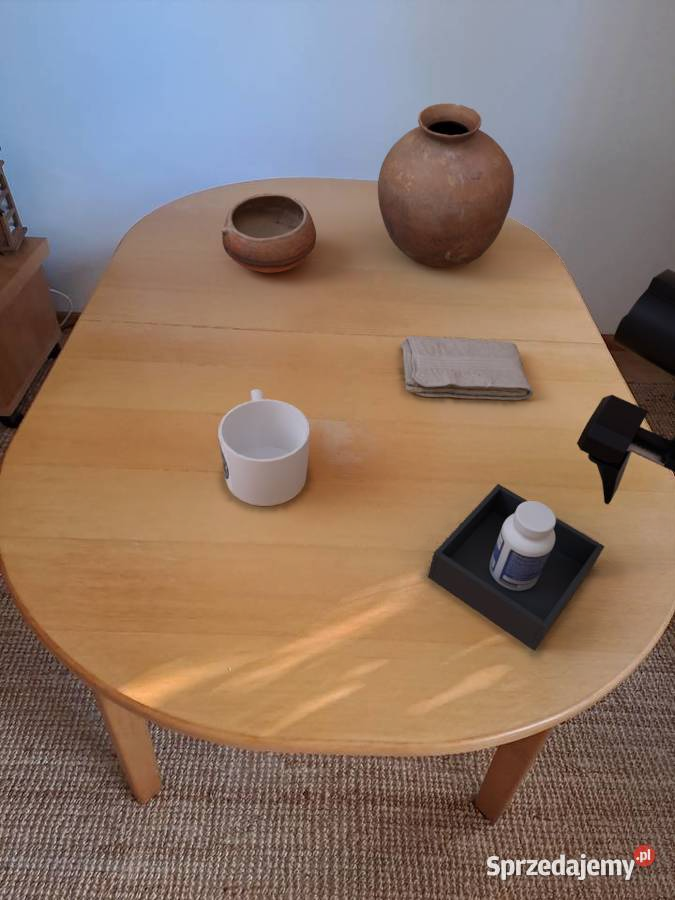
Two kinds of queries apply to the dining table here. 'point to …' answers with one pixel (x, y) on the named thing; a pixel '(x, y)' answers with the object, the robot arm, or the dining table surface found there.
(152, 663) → the dining table surface
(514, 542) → the pill bottle
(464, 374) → the washcloth
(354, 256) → the dining table surface
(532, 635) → the black square tray
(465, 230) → the pottery
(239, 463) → the mug
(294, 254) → the bowl
